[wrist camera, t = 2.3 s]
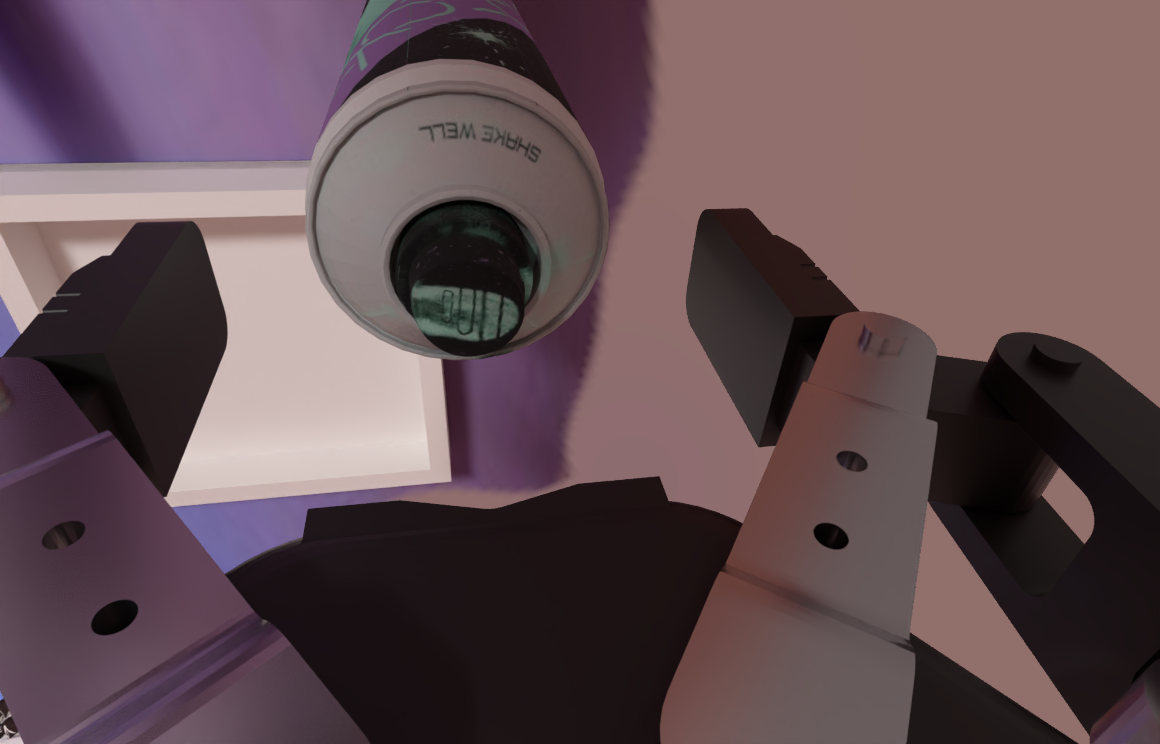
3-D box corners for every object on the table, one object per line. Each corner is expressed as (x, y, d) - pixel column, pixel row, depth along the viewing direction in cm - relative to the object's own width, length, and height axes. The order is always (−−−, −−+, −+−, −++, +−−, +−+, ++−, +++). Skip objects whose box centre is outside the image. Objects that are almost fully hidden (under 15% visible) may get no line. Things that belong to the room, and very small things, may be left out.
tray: (-9, 164, 26) (-51, 196, 24) (426, 159, 29) (426, 187, 26) (134, 467, 36) (114, 512, 33) (449, 442, 38) (451, 481, 36)
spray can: (539, 64, 27) (692, 366, 12) (417, 126, 28) (407, 491, 12) (473, -88, 24) (565, 52, 8) (335, -15, 25) (181, 245, 9)
